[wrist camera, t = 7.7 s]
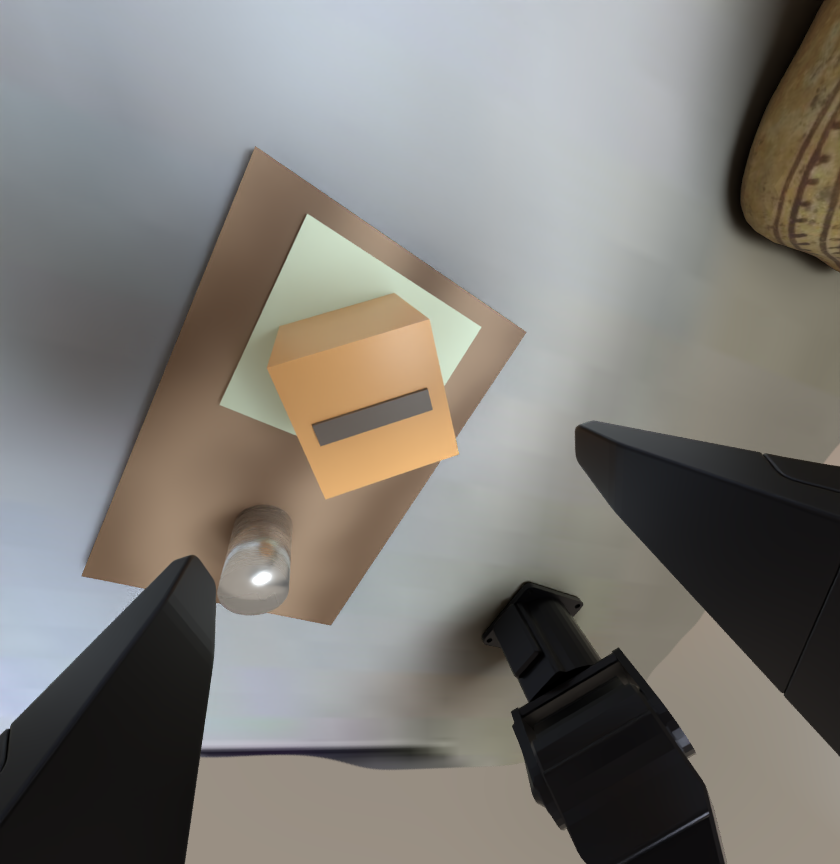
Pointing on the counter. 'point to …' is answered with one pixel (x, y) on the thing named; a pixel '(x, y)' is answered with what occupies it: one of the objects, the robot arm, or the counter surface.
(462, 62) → the counter surface
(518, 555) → the counter surface
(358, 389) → the box
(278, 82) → the counter surface
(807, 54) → the ceramic vessel
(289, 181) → the board
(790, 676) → the robot arm
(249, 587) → the clear cylinder
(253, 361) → the pad
